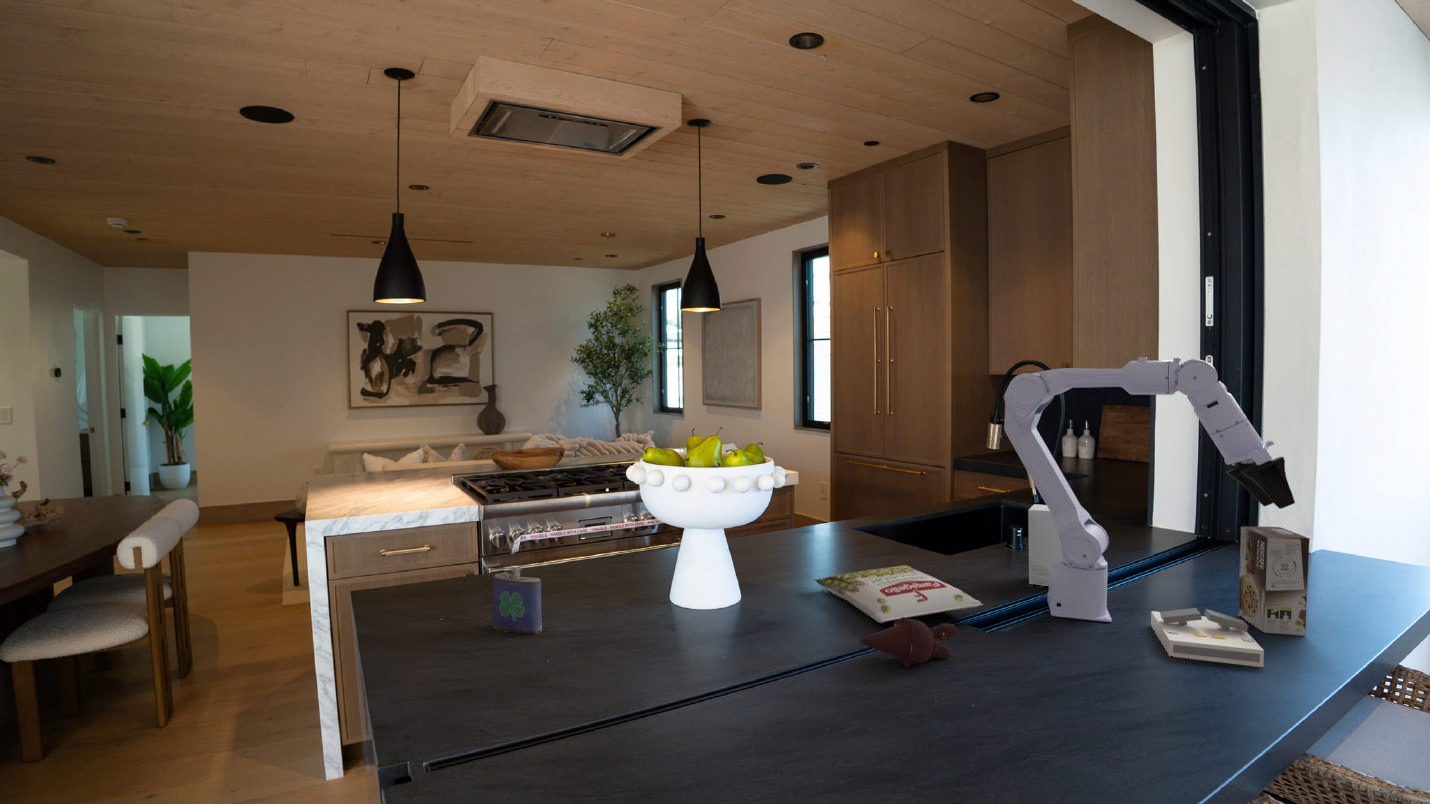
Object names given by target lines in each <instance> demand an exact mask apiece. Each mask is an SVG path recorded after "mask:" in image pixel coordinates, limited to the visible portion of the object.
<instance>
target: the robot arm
mask: <svg viewBox="0 0 1430 804" xmlns="http://www.w3.org/2000/svg"><path fill="white" fill-rule="evenodd" d="M1218 378H1219V377H1218V372H1217V370H1216V368H1215V367H1214V366H1213V365H1212V364H1211V363H1209V362H1208V361H1205V360H1202V359H1194V358H1192V359H1188V360H1186V361H1184V362H1182V357H1178V356H1177V357H1173V360H1172V359H1171V360H1169V359H1167V360H1162V359H1161V360H1148V357H1144V356H1142V357H1141V356H1140V357H1138V358H1137V360H1130V361H1129V362H1127V363H1126V364H1125V366H1123V367H1122V368H1078V367H1077V368H1071V367H1069V368H1067V367H1066V368H1055V369H1048V370H1043V371H1036V372H1032V373H1031V372H1026V373H1021V374H1017V375H1016V376H1014V377H1013V378H1012V380H1011V381H1010V382H1009V385H1008V387H1007V389H1006V391H1005V393H1004V395H1003V399H1004V431H1005V434H1006V436H1007V437H1008V439H1009V441H1010V443H1011V444H1012V447H1013V448H1014V451H1015V452H1016V453H1017V455H1018V456H1019V459H1020V461H1021V463H1022V464H1023V466H1024V468H1025V469H1026V471H1027V473H1028V475H1029V476H1030V478H1031V480H1032V482H1033V484H1034V485H1035V488H1036V489H1037V491H1038V492H1039V494H1040V496H1041V497H1042V500H1043V502H1044V503H1045V505H1047V507H1048V509H1049V510H1050V512H1051V514H1052V516H1053V517H1054V521H1055V527H1056V531H1057V533H1058V535H1059V537H1060V540H1061V550H1062V553H1063V555H1064V557H1063V558H1062V561H1059V562H1055V561H1051V562H1050V566H1049V587H1048V592H1047V595H1046V596H1047V598H1046V599H1047V603H1048V607H1049V613H1050V615H1051V616H1052V617H1059V618H1068V619H1069V618H1070V619H1077V620H1087V621H1095V622H1096V621H1097V622H1106V623H1107V622H1108V623H1112V621H1113V619H1112V617H1111V615H1110V613H1109V611H1108V608H1107V604H1108V603H1107V601H1108V599H1107V597H1108V565H1109V563H1108V561H1107V560H1106V559H1105V558H1104V555H1103V553H1105V552H1106V550H1107V548H1108V547H1109V543H1110V541H1109V540H1110V538H1109V536H1108V535H1109V534H1108V533H1107V531H1106V530H1105V529H1104V527H1102V526H1101V525H1099V524H1098V523H1097V522H1096V521H1094V519H1093V518H1092V517H1091V515H1090V513H1089V512H1088V511H1087V510H1086V509H1085V508H1084V507H1083V506H1082V505H1081V503H1080V502H1079V500H1078V498H1077V496H1076V495H1075V493H1074V492H1073V490H1072V488H1071V486H1070V484H1069V483H1068V481H1067V479H1066V478H1065V476H1064V474H1063V472H1062V470H1061V469H1060V467H1059V465H1058V464H1057V461H1056V460H1055V459H1054V457H1053V455H1052V454H1051V451H1050V450H1049V448H1048V446H1047V445H1046V443H1045V442H1044V441H1045V440H1044V439H1043V438H1042V436H1041V435H1040V433H1039V431H1038V428H1037V426H1038V424H1039V421H1040V419H1041V416H1042V413H1043V411H1044V410H1045V409H1046V407H1048V405H1049V404H1050V403H1051V402H1052V401H1053V399H1054V397H1055V396H1056V395H1060V394H1062V393H1065V392H1067V391H1068V390H1071V389H1072V388H1075V389H1076V388H1115V387H1117V388H1119V387H1120V388H1122V389H1123V390H1125V391H1126V392H1127V393H1128V394H1130V395H1135V396H1137V395H1139V396H1140V395H1142V396H1143V395H1147V396H1148V395H1149V396H1151V395H1153V396H1155V395H1157V396H1159V395H1160V396H1169V395H1170V396H1173V395H1175V393H1177V392H1179V393H1181V394H1182V395H1184V396H1186V398H1187V400H1188V401H1189V403H1190V405H1191V406H1192V408H1193V412H1194V414H1195V415H1196V417H1197V418H1198V419H1199V421H1200V423H1201V425H1203V428H1204V429H1205V431H1206V433H1207V434H1208V435H1209V437H1210V438H1211V440H1212V441H1213V443H1214V445H1215V446H1216V447H1217V450H1218V451H1219V452H1220V455H1221V456H1222V457H1223V458H1224V460H1223V461H1224V463H1225V464H1226V465H1227V466H1229V465H1231V466H1234V468H1233V469H1231V470H1227V471H1226V475H1227V476H1229V477H1231V478H1232V479H1234V480H1236V481H1237V482H1238V483H1240V485H1241V486H1243V487H1244V488H1245V489H1246V490H1247V491H1248V492H1249V493H1250V494H1251V495H1252V497H1254V498H1255V499H1256V501H1258V503H1259V504H1261V506H1263V507H1268V506H1270V505H1272V504H1274V505H1275V507H1277V508H1278V509H1280V510H1281V509H1285V508H1286V507H1289V506H1291V505H1295V503H1296V501H1295V499H1294V495H1293V493H1292V489H1291V487H1290V485H1289V484H1290V483H1289V481H1288V478H1287V474H1286V464H1285V463H1286V460H1285V458H1284V456H1278V457H1275V458H1273V457H1272V456H1271V455H1270V453H1269V452H1268V448H1270V447H1271V446H1273V445H1275V442H1274V441H1273V440H1272V439H1271V440H1266V441H1263V440H1262V438H1261V436H1260V435H1259V433H1258V432H1257V431H1256V429H1255V428H1254V426H1253V425H1252V424H1251V422H1250V420H1249V419H1248V418H1247V416H1246V414H1245V413H1244V412H1243V410H1242V408H1241V406H1240V405H1239V404H1238V402H1237V401H1236V399H1235V397H1234V396H1233V395H1232V393H1230V392H1228V388H1227V386H1226V385H1225V384H1224V383H1223V382H1221V381H1220V380H1219V379H1218ZM1218 380H1219V381H1218Z"/></svg>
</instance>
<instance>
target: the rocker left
mask: <svg viewBox="0 0 1430 804" xmlns="http://www.w3.org/2000/svg"><path fill="white" fill-rule="evenodd" d="M1159 612H1160V615H1161V619H1162V620H1163V622H1164V623H1165V624H1167V623H1176V622H1178V623H1179V625H1180V626H1183V625H1187V621H1194V620H1202V618H1201V616H1202V614H1201V612H1200V611H1199V610H1198V609H1197V607H1194V608H1185V609H1184V608H1183V609H1175V610H1174V609H1173V610H1168V611H1166V610H1165V611H1159Z"/></svg>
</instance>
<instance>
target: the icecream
mask: <svg viewBox="0 0 1430 804" xmlns="http://www.w3.org/2000/svg"><path fill="white" fill-rule="evenodd" d="M892 625H893V626H891V627H888V628H886V629H883V630H880V631H878V632H876V633H873V634H870V635H867V636H864V637H863V638H861V639H860V640H859V643H860V644H861V645H864V646H867V647H870V648H872V649H874V650H877V651H880V652H883V653H885V654H888V655H890V656H893V657H895V658H897V660H898V662H899V663H900V664H901V663H902V665H904V666H906V667H907V668H908V667H910V666H911V665H915V664H921V663H924V662H926V661H928V660H929V659H930V658H935V659H941V660H942V659H947V658H948V657H950V656H951V654H952V652H951V650H950V648H949V647H948V646H947V645H944V644H941V643H937V642H936V640H939V641H944V640H948V639H951V638H953V637H954V636H955V635H956V634H957V632H958V629H957V628H956V626H955V625H954V624H952V623H940V624H938V625H936V626H934V627H931V628H929V626H928V625H927V624H926V623H924V622H923V621H921V620H918V619H914V618H905V617H902V618H900V619H897V620H894V622H893V624H892Z"/></svg>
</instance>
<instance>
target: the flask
mask: <svg viewBox="0 0 1430 804" xmlns="http://www.w3.org/2000/svg"><path fill="white" fill-rule="evenodd" d="M509 570H510V571H511V572H510V573H508V572H507V571H504V572H503V573H502V572H501V573H496V574H494V575H493V581H492V582H493V585H492V586H493V589H492V590H493V592H492V594H493V609H492V610H493V615H492V617H493V629H494V630H496V631H501V632H505V633H513V634H523V635H532V636H533V635H539V634H540V633H541V632H542V631H543V622H542V621H543V620H542V580H541V578H540V577H528V576H527V577H525V576H521V571H522V567H521V566H516V567H515V566H514V567H513V566H512V567H510V568H509Z"/></svg>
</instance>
